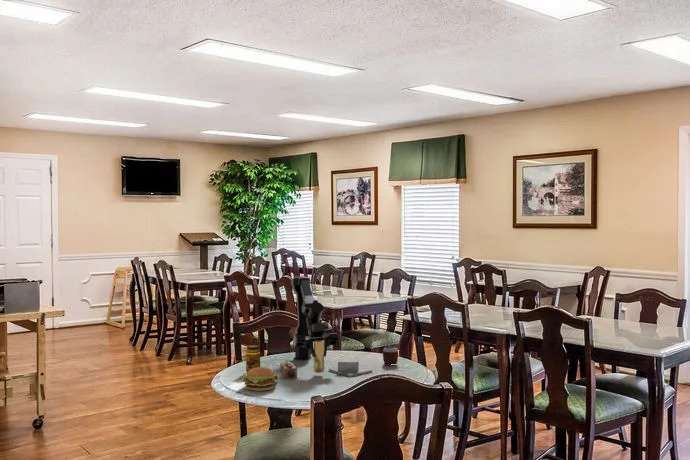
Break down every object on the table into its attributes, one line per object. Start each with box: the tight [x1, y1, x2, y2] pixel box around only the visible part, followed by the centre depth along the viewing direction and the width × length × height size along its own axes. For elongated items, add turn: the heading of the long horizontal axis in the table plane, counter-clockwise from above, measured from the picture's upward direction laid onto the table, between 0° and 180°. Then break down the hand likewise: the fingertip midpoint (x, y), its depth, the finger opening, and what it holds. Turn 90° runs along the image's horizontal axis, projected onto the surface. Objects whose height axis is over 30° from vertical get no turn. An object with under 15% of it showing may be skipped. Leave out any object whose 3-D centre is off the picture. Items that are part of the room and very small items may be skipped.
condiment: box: [245, 344, 261, 374], centre depth 280 cm, size 7×8×12 cm
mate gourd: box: [382, 330, 399, 367], centre depth 297 cm, size 8×8×15 cm
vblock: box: [328, 357, 373, 378], centre depth 283 cm, size 14×13×5 cm
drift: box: [284, 359, 292, 368], centre depth 277 cm, size 9×2×2 cm, turn 16°
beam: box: [279, 361, 298, 380], centre depth 277 cm, size 12×5×4 cm, turn 16°
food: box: [241, 366, 279, 392], centre depth 257 cm, size 14×14×8 cm
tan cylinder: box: [313, 340, 325, 374], centre depth 276 cm, size 4×4×13 cm
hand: (319, 356), depth 274 cm, fingers closed on tan cylinder, 4 cm apart
